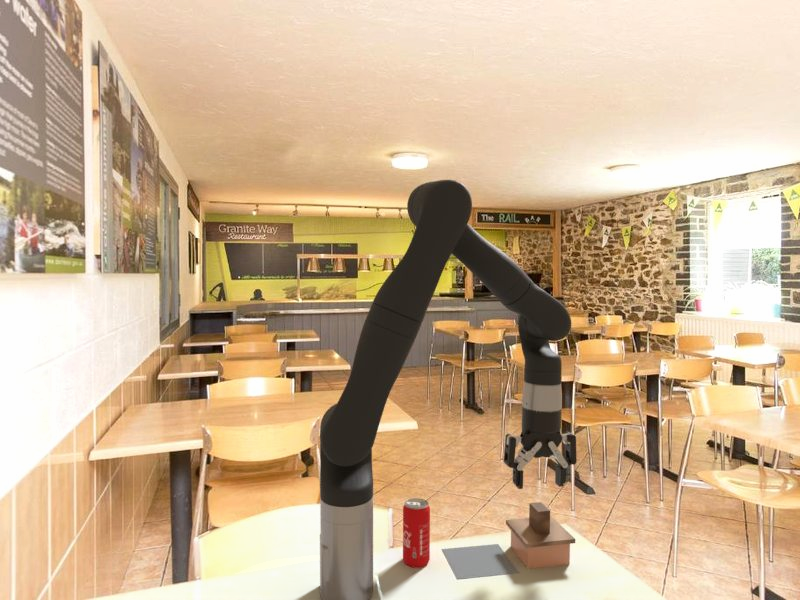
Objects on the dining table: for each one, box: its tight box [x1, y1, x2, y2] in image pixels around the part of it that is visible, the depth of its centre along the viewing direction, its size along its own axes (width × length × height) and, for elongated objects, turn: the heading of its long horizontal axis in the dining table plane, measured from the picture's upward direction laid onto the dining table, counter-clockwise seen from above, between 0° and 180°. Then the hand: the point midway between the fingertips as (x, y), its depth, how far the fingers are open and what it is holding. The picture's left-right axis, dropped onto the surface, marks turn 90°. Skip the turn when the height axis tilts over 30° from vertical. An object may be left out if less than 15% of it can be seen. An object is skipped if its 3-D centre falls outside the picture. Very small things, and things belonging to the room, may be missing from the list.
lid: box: [505, 501, 576, 548], centre depth 108 cm, size 10×10×5 cm
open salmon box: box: [510, 530, 571, 569], centre depth 108 cm, size 8×8×5 cm
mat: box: [441, 543, 520, 580], centre depth 106 cm, size 12×11×1 cm
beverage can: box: [402, 497, 431, 569], centre depth 105 cm, size 5×5×12 cm
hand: (539, 486), depth 107 cm, fingers open, 8 cm apart
